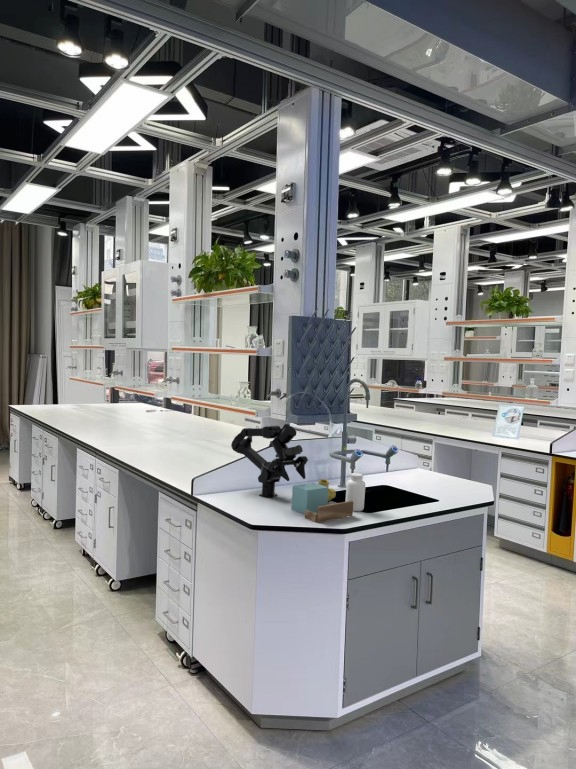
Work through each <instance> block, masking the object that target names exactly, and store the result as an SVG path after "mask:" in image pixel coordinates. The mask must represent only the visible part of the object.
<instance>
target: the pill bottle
mask: <svg viewBox="0 0 576 769" xmlns="http://www.w3.org/2000/svg"><path fill="white" fill-rule="evenodd" d="M349 477H350V479H347V482H346V490H345V501H344V502H347V501H354V502H353V512H360V511H361V512H362V511H363V510H364V508H365V495H366V482H365V481H364V479H363V478H364V476H363V474H362V473H359V472H358V473H357V472H353V473H352V472H351V473H350V475H349Z"/></svg>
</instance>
